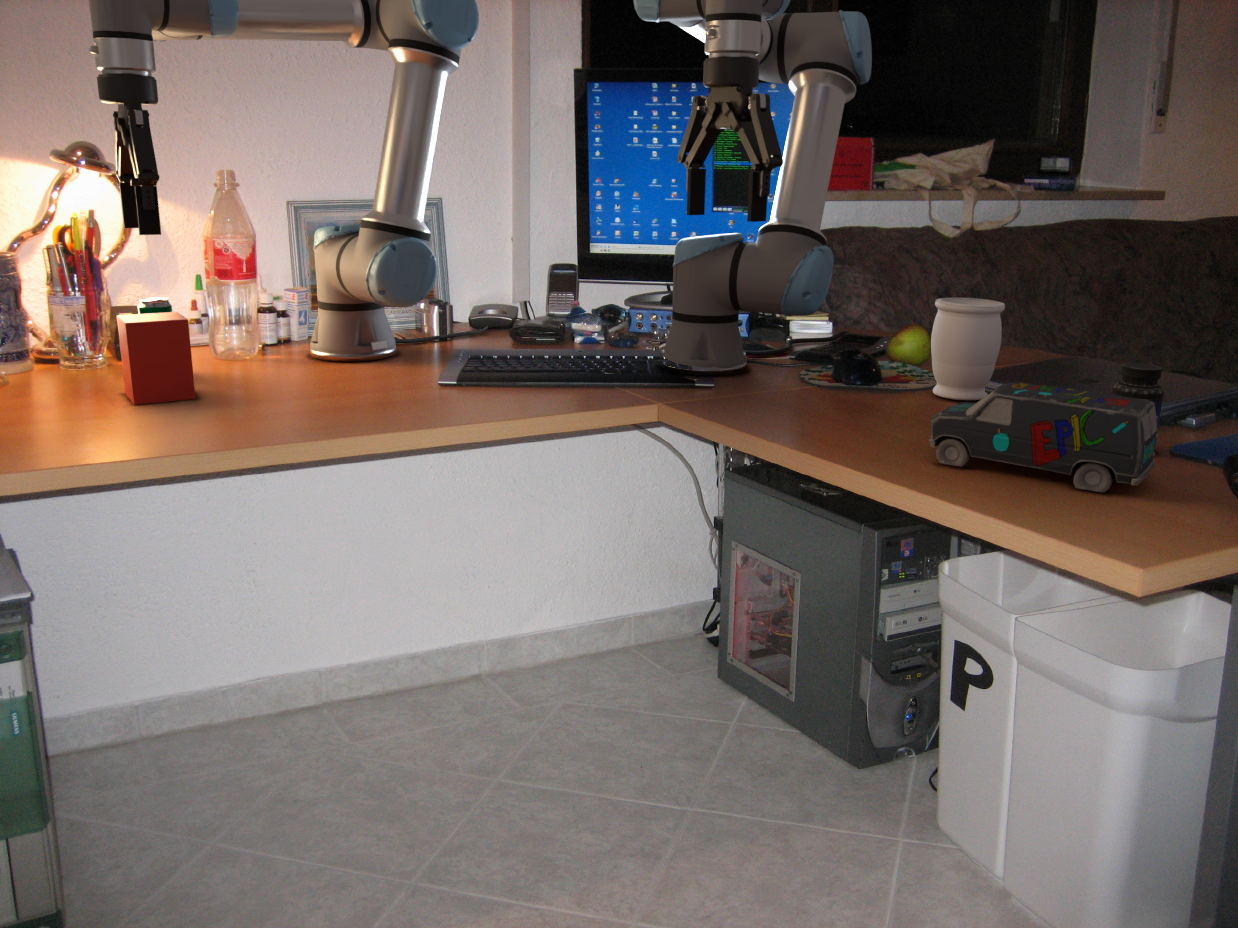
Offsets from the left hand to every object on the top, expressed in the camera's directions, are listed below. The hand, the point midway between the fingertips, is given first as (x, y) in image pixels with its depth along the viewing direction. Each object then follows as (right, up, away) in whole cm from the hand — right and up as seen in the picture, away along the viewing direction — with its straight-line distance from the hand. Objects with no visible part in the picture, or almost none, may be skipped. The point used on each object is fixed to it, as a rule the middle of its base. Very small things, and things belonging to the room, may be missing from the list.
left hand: (142, 231), depth 153 cm
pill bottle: (+136, -31, -12) cm, 140 cm away
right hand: (+83, +1, -3) cm, 83 cm away
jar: (+123, -23, +17) cm, 126 cm away
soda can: (-7, -18, +22) cm, 30 cm away
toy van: (+119, -34, -23) cm, 126 cm away
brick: (0, -23, +7) cm, 24 cm away
